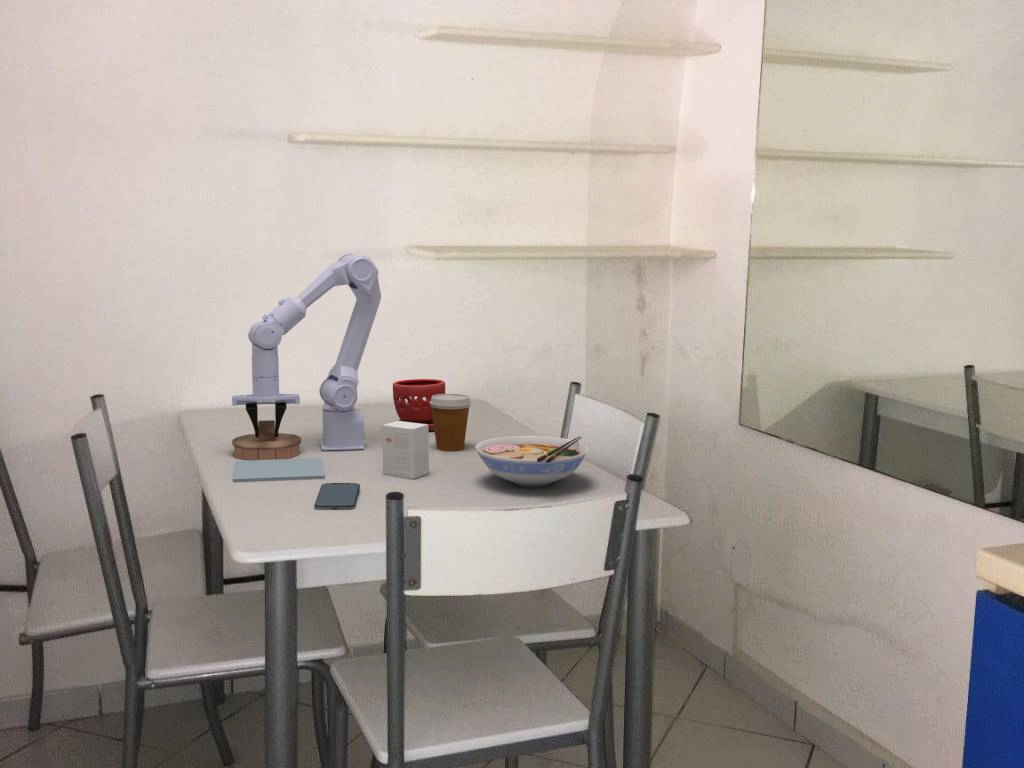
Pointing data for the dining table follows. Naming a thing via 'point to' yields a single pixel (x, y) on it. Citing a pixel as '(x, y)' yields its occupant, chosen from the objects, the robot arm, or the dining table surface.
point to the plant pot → (417, 407)
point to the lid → (266, 438)
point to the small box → (405, 449)
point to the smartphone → (337, 496)
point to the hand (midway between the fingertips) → (266, 436)
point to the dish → (266, 453)
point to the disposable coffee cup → (450, 420)
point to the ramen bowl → (532, 458)
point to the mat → (278, 469)
